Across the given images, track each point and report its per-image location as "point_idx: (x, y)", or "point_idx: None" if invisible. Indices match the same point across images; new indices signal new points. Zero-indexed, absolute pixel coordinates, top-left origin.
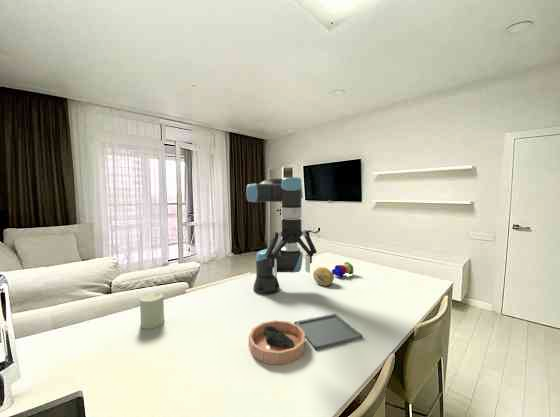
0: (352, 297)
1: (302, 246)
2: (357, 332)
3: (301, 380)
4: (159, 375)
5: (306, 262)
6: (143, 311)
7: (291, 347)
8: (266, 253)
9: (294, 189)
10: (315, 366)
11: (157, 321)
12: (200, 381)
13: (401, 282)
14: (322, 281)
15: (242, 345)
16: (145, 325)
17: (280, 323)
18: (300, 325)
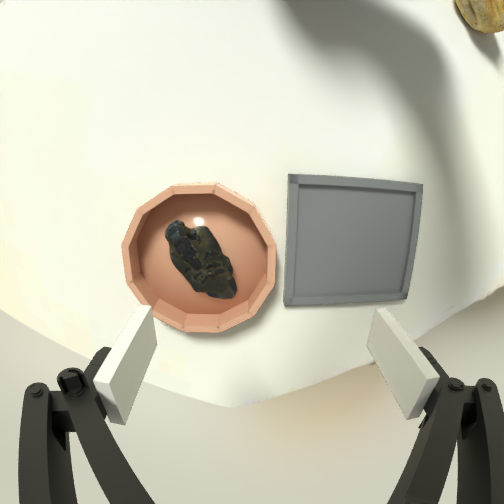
0: (498, 122)
1: (398, 487)
2: (406, 286)
3: (214, 359)
4: (6, 260)
5: (394, 360)
6: None
7: (224, 298)
8: (30, 409)
9: None
10: (256, 341)
11: None
12: (56, 298)
13: None
14: (470, 14)
15: (119, 223)
16: None
17: (229, 201)
18: (297, 202)
